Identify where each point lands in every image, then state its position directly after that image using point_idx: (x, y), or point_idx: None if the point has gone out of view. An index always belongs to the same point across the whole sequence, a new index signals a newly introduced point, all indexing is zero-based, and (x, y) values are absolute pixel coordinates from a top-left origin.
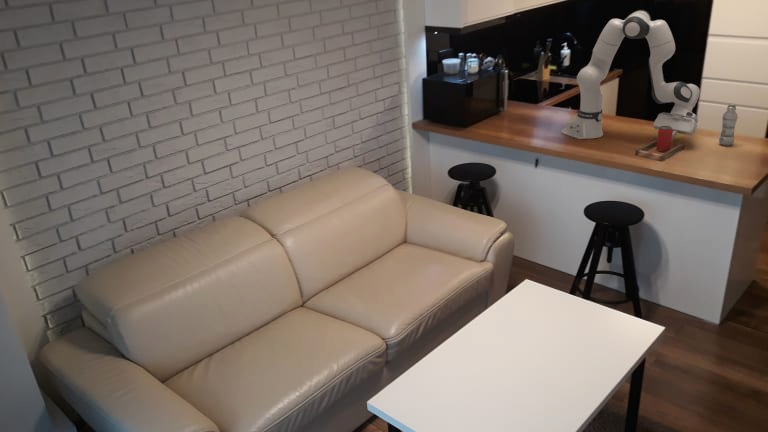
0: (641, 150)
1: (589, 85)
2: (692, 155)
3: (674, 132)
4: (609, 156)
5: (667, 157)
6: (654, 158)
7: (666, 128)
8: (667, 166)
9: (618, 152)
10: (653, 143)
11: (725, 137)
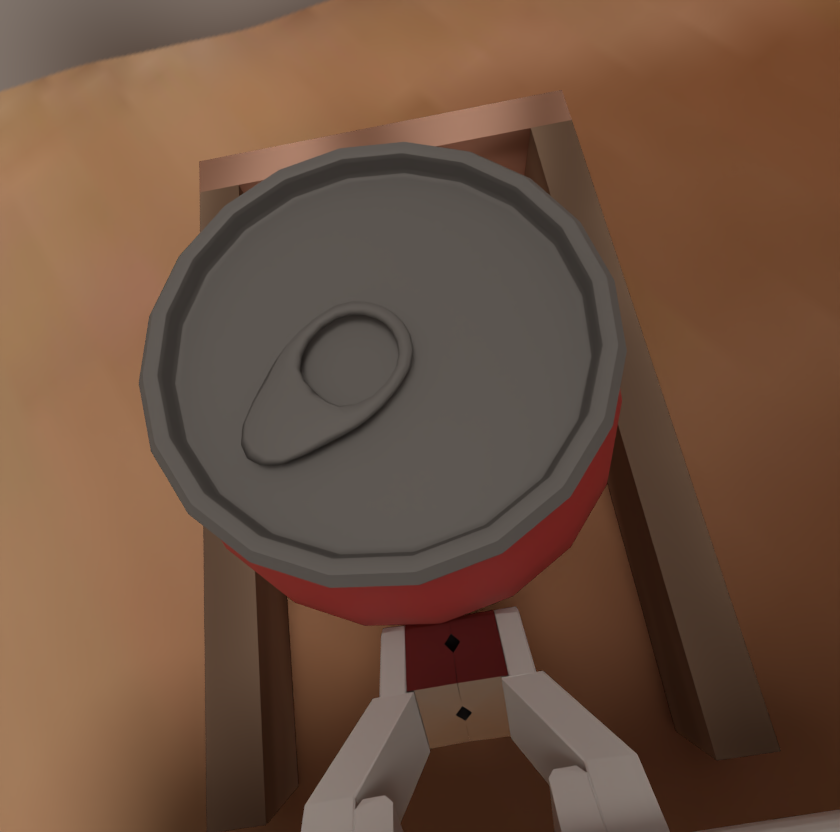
0: (538, 171)
1: None
2: (34, 604)
3: (338, 804)
4: None
5: None
6: None
7: (324, 319)
8: (122, 153)
9: (741, 85)
10: (628, 469)
11: None
